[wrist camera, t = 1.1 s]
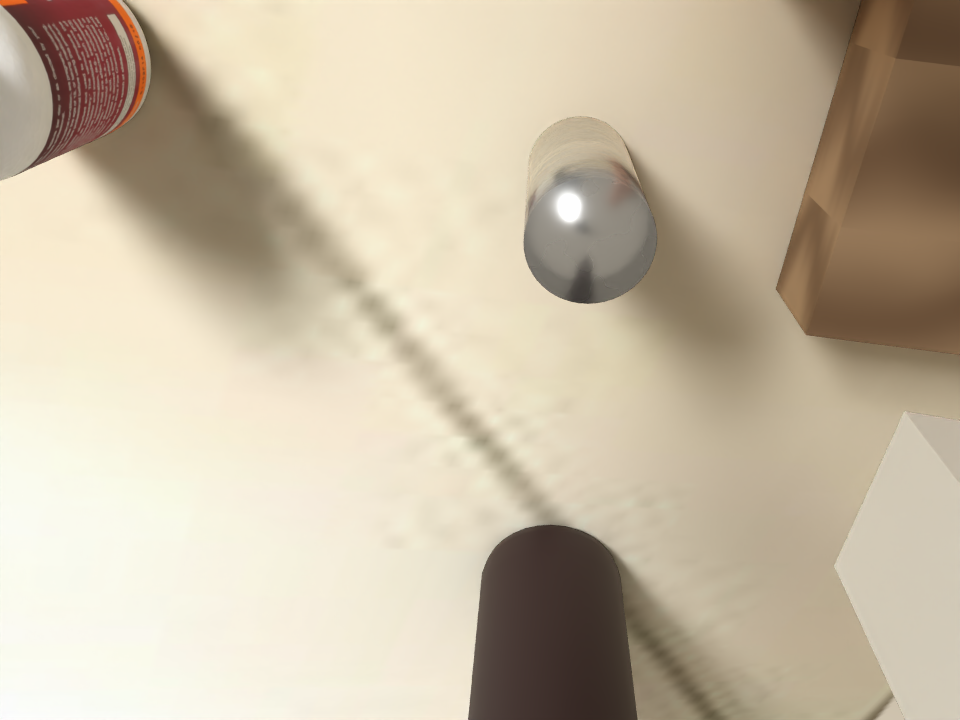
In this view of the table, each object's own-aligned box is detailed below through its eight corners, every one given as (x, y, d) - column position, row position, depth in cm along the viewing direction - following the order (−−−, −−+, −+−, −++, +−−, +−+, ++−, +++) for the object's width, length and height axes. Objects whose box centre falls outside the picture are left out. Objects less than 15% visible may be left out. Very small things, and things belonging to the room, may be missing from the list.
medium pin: (535, 110, 32) (533, 169, 24) (638, 123, 32) (669, 186, 24) (522, 209, 34) (515, 295, 26) (619, 222, 34) (642, 311, 26)
